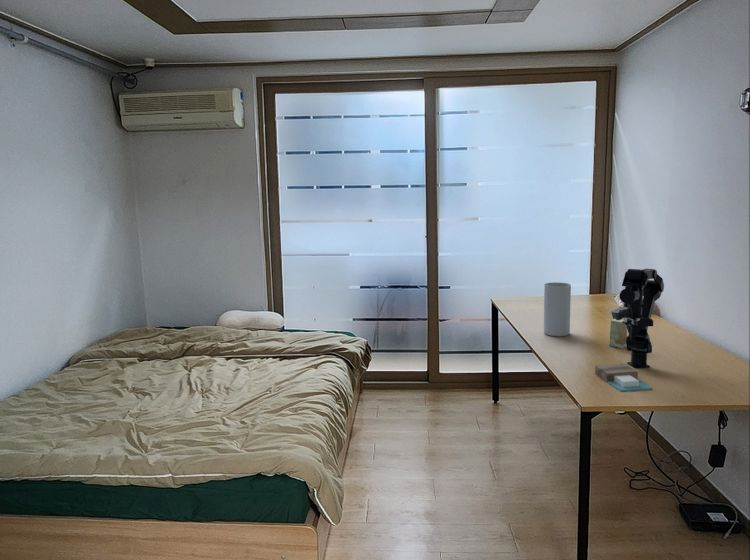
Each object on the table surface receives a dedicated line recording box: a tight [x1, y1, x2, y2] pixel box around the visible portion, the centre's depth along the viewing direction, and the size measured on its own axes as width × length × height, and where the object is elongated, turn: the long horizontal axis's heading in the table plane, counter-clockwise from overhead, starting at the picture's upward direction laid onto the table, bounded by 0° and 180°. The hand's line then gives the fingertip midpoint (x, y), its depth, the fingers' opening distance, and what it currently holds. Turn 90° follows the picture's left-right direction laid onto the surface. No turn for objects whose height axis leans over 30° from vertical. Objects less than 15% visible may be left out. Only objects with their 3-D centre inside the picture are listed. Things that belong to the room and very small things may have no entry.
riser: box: [594, 363, 639, 383], centre depth 228 cm, size 10×12×4 cm
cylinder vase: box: [543, 281, 572, 338], centre depth 293 cm, size 12×12×25 cm
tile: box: [614, 375, 639, 387], centre depth 220 cm, size 7×6×2 cm
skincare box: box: [609, 318, 628, 349], centre depth 269 cm, size 6×4×12 cm
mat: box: [607, 379, 653, 392], centre depth 218 cm, size 10×12×1 cm
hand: (631, 340), depth 232 cm, fingers closed
